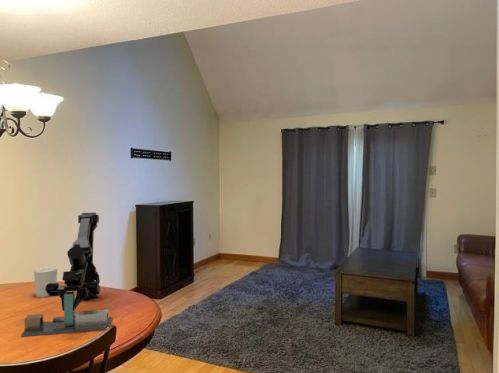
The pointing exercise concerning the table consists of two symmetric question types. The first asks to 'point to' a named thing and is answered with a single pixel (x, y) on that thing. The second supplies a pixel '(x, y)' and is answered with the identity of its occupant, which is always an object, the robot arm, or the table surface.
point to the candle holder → (44, 279)
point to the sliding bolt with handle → (67, 310)
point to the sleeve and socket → (82, 323)
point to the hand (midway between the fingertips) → (68, 310)
